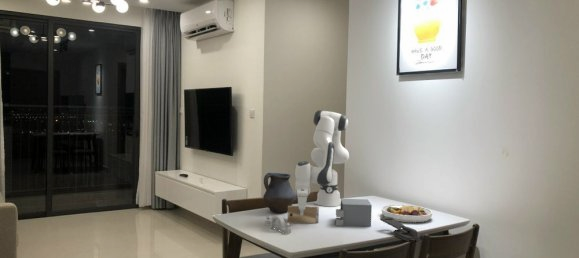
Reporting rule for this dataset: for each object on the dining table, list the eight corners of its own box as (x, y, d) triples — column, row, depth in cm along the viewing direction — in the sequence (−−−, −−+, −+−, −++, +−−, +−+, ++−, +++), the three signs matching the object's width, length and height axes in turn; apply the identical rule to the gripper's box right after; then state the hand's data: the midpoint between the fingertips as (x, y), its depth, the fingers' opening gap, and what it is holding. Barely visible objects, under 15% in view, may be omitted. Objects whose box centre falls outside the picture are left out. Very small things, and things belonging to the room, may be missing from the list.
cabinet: (334, 218, 274) (334, 198, 274) (367, 219, 274) (367, 199, 273) (336, 225, 257) (336, 204, 256) (371, 227, 256) (372, 205, 255)
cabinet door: (287, 221, 264) (288, 205, 264) (318, 222, 264) (318, 206, 263) (287, 222, 261) (287, 207, 261) (318, 223, 260) (319, 208, 260)
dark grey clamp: (391, 216, 255) (423, 227, 233) (390, 228, 256) (422, 240, 234) (378, 217, 251) (409, 229, 229) (377, 229, 252) (409, 242, 229)
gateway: (265, 226, 253) (265, 212, 252) (268, 226, 254) (268, 211, 254) (287, 235, 238) (287, 220, 237) (290, 234, 239) (291, 219, 239)
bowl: (373, 212, 293) (374, 200, 292) (417, 211, 299) (417, 199, 298) (393, 225, 263) (394, 211, 263) (441, 223, 269) (442, 210, 269)
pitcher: (302, 213, 286) (303, 173, 284) (273, 217, 273) (274, 175, 271) (282, 206, 302) (283, 169, 301) (254, 210, 289) (255, 171, 288)
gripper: (297, 186, 273) (296, 209, 273) (296, 193, 252) (295, 218, 253) (307, 187, 272) (307, 210, 273) (308, 193, 252) (307, 218, 253)
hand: (301, 214), depth 263 cm, fingers open, 4 cm apart
